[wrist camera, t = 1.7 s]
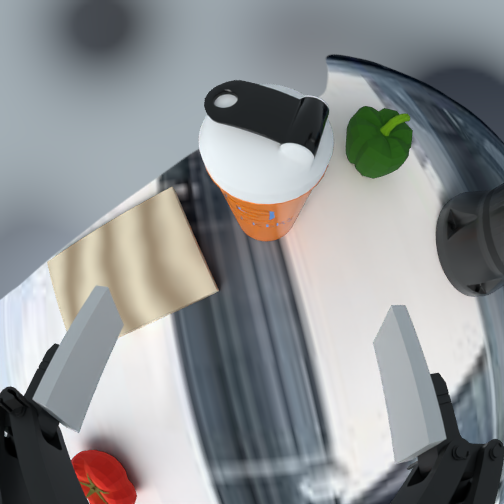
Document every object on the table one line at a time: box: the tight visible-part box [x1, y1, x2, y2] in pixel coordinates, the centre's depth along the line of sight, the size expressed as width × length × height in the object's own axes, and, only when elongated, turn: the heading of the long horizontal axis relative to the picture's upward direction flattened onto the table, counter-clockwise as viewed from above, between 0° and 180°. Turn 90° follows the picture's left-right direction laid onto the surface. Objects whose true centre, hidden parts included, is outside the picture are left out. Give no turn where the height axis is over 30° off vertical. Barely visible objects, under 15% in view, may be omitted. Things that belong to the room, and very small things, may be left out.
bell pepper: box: [346, 106, 413, 179], centre depth 30 cm, size 8×8×10 cm
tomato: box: [71, 450, 137, 504], centre depth 25 cm, size 10×11×6 cm
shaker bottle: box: [199, 80, 334, 241], centre depth 24 cm, size 9×9×20 cm
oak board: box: [47, 187, 219, 338], centre depth 33 cm, size 22×14×2 cm, turn 116°
